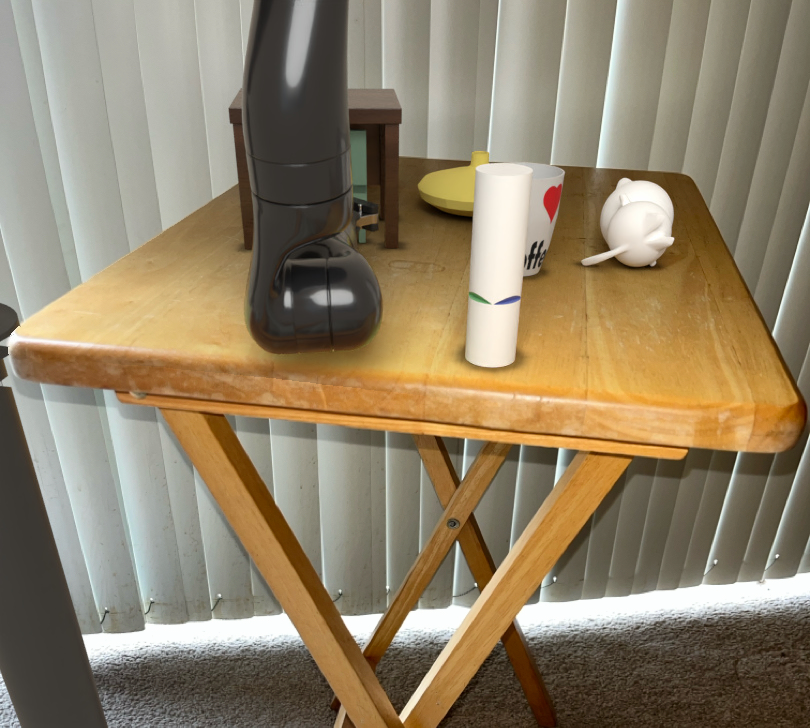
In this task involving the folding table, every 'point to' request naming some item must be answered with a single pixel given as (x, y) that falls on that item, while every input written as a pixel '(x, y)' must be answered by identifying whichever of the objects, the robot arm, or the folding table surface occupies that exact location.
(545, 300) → the folding table surface
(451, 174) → the vase
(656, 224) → the cat figurine
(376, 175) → the desk
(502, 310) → the tube
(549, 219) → the cup
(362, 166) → the chair
